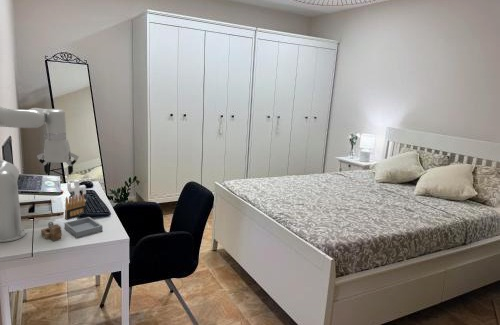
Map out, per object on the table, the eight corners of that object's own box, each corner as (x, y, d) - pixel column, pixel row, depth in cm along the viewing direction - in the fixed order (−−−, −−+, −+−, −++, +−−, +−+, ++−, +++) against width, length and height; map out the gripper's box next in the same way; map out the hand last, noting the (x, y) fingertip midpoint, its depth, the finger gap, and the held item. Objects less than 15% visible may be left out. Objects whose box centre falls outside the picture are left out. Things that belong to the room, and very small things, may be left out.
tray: (76, 238, 159) (76, 232, 159) (64, 228, 168) (64, 222, 168) (102, 231, 168) (102, 225, 168) (89, 222, 177) (89, 216, 177)
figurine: (88, 205, 199) (87, 180, 195) (70, 209, 192) (69, 183, 189) (84, 202, 204) (83, 177, 200) (66, 205, 197) (65, 179, 194)
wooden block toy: (49, 242, 154) (49, 229, 153) (41, 234, 161) (40, 222, 159) (65, 238, 159) (64, 226, 157) (56, 230, 165) (55, 219, 164)
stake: (50, 236, 160) (49, 224, 158) (48, 234, 161) (47, 222, 160) (54, 235, 161) (53, 223, 160) (53, 233, 162) (52, 221, 161)
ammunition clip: (67, 220, 178) (65, 197, 176) (64, 219, 179) (63, 196, 176) (86, 214, 187) (85, 192, 184) (84, 213, 188) (83, 192, 185)
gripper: (32, 137, 152) (35, 175, 156) (74, 139, 155) (76, 176, 159) (39, 134, 159) (42, 171, 163) (80, 136, 162) (81, 171, 166)
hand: (59, 173), depth 161 cm, fingers open, 9 cm apart
